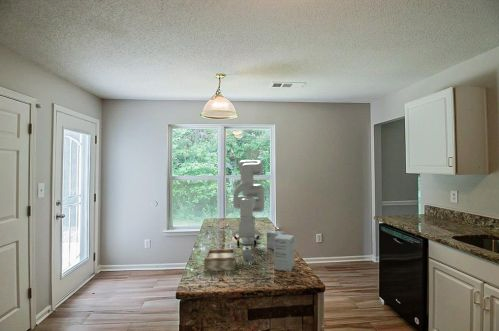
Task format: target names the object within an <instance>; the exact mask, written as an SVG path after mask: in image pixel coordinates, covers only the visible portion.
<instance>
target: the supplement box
mask: <svg viewBox="0 0 499 331" xmlns="http://www.w3.org/2000/svg"><path fill="white" fill-rule="evenodd" d="M273 259H274V261H273V268H274V270H277V271H286V272H291V271H292V270H293V269H294V267H295V265H296V264H295V262H296V260H295V235H291V234H284V235H283V234H278V235H277V236H276V237H275V238H274V249H273Z"/></svg>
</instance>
